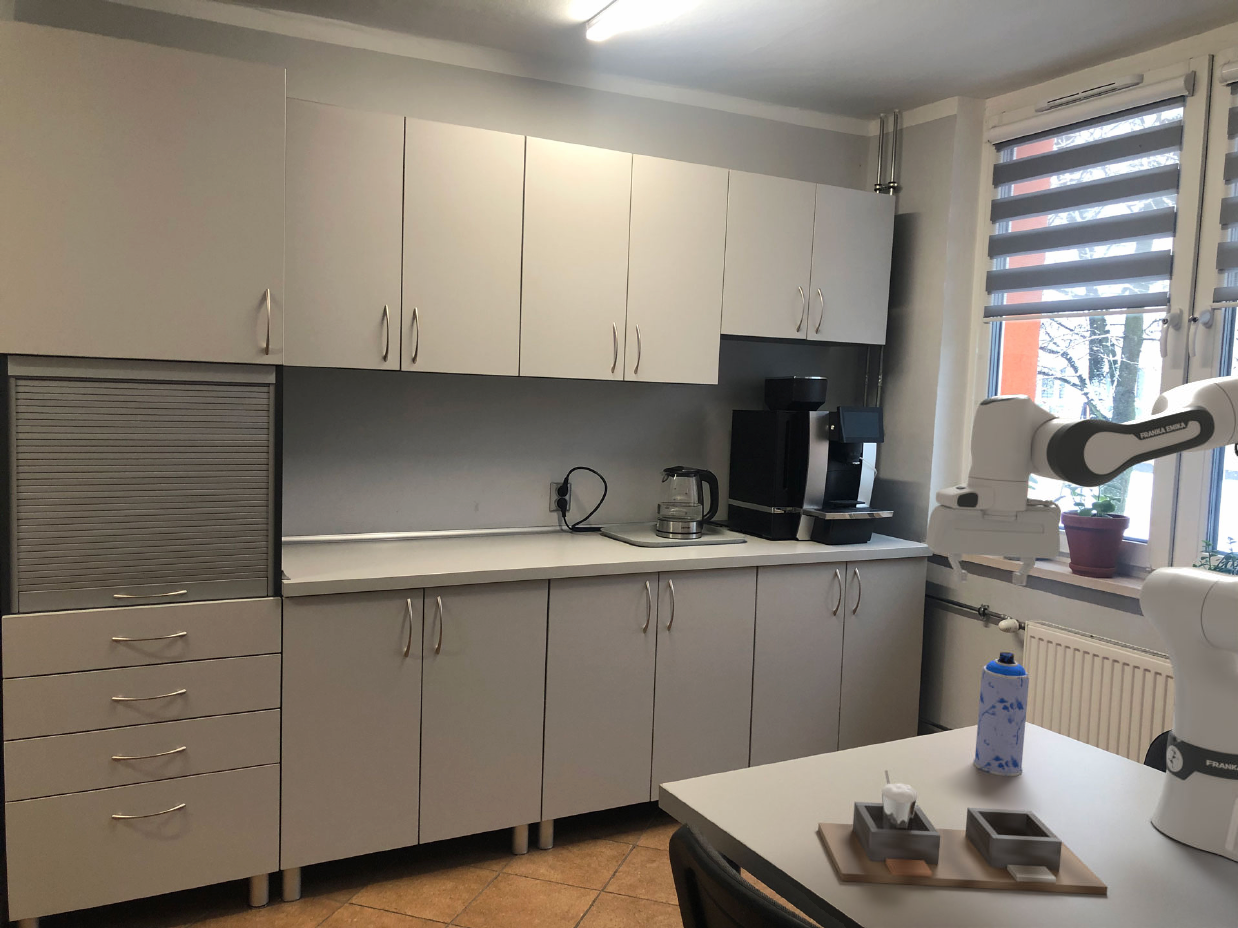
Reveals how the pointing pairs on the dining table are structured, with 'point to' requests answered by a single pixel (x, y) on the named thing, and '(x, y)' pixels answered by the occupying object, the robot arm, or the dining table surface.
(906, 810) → the milkshake
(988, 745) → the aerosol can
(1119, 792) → the dining table surface
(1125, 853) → the dining table surface
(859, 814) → the port board
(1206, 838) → the robot arm
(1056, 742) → the dining table surface
